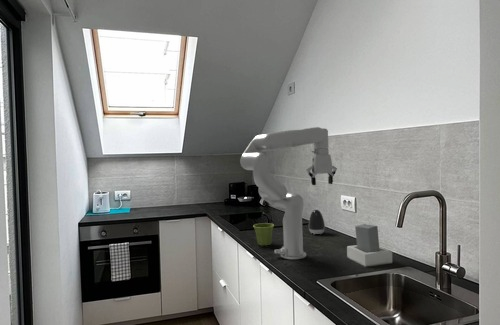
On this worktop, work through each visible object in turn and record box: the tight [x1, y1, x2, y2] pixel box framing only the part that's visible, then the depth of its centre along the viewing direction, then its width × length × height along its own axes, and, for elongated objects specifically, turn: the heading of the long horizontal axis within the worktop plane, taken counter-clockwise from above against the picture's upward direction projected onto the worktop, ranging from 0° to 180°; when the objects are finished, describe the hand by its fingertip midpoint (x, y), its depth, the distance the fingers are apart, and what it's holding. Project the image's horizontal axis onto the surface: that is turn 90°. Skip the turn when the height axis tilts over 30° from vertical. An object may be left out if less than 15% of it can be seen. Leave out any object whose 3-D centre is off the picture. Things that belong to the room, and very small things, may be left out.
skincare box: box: [355, 223, 380, 253], centre depth 164 cm, size 8×7×16 cm
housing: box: [346, 244, 393, 268], centre depth 164 cm, size 14×15×6 cm
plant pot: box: [252, 222, 275, 246], centre depth 198 cm, size 12×12×11 cm
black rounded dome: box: [308, 209, 326, 235], centre depth 221 cm, size 10×10×15 cm
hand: (322, 184), depth 185 cm, fingers open, 9 cm apart
